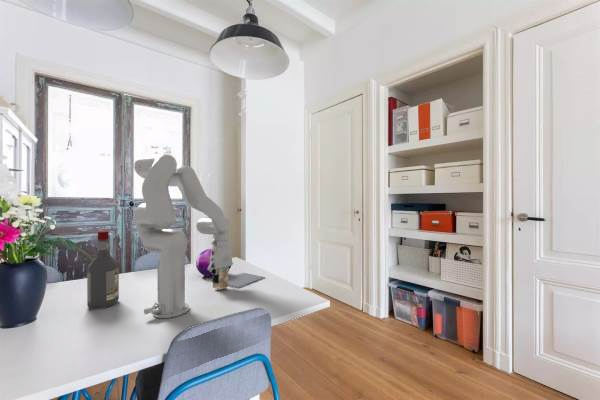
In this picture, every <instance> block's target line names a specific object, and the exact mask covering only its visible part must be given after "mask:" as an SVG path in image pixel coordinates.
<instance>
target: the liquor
mask: <svg viewBox="0 0 600 400" xmlns="http://www.w3.org/2000/svg"><path fill="white" fill-rule="evenodd" d="M109 233H110V231H109V230H108V231H107V230H100V231H97V241H98V242H97V245H98V246H97V256H96V257H94V259H93V260H91V262H90V263H88V266H87V268H86V273H87V275H86V278H87V279H86V282H87V284H86V286H87V288H86V289H87V293H86V295H87V297H86V298H87V301H86V303H87V308H89V309H91V310H98V309H107V308H110V307H114V305H115V304H116V303H118V301H119V299H120V298H119V297H120V295H119V293H120V287H119V285H120V281H119V280H120V278H119V277H120V276H119V275H120V273H119V272H120V271H119V269H120V268H119V267H120V266H119V261H118V260H117V259H116V258H114V257H113V256H112V255H111V254H110V251H109V239H110V237H109V235H110V234H109Z"/></svg>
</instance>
